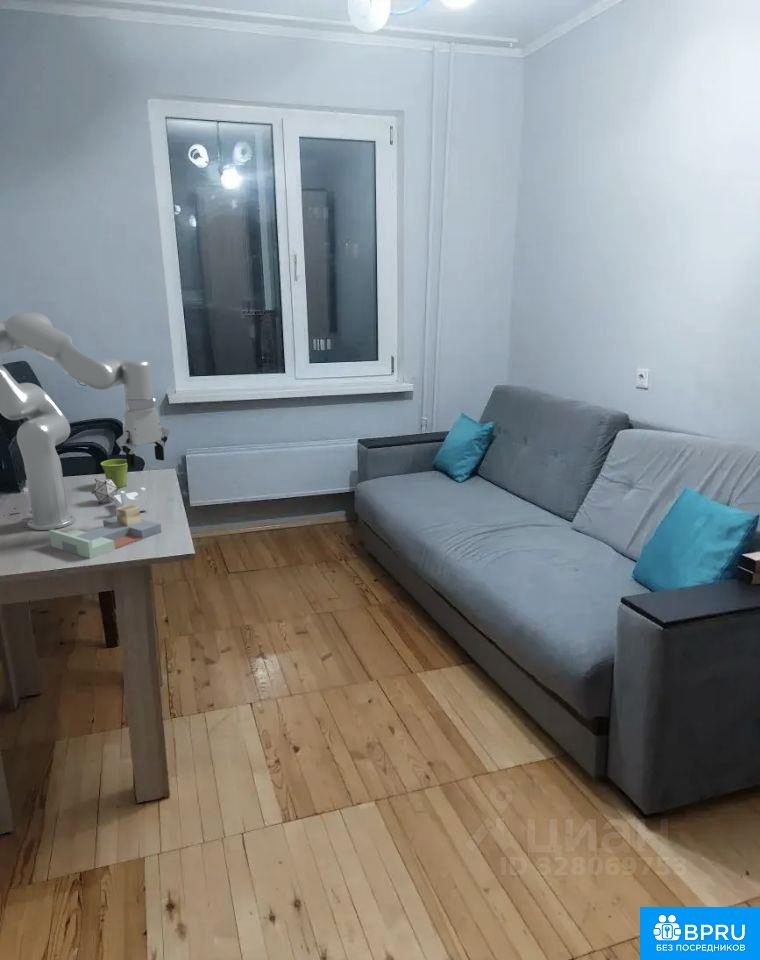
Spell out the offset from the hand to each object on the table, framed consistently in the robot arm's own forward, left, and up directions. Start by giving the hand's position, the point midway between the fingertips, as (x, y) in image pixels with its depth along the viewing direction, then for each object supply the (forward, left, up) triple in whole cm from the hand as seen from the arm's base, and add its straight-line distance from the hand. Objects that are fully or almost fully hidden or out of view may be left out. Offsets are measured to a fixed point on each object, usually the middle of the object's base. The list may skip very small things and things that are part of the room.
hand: (146, 463), depth 198 cm
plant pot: (-43, +20, -19) cm, 51 cm away
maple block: (0, -8, -16) cm, 18 cm away
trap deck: (0, -15, -18) cm, 24 cm away
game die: (-30, +6, -19) cm, 36 cm away
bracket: (-18, +6, -19) cm, 27 cm away
